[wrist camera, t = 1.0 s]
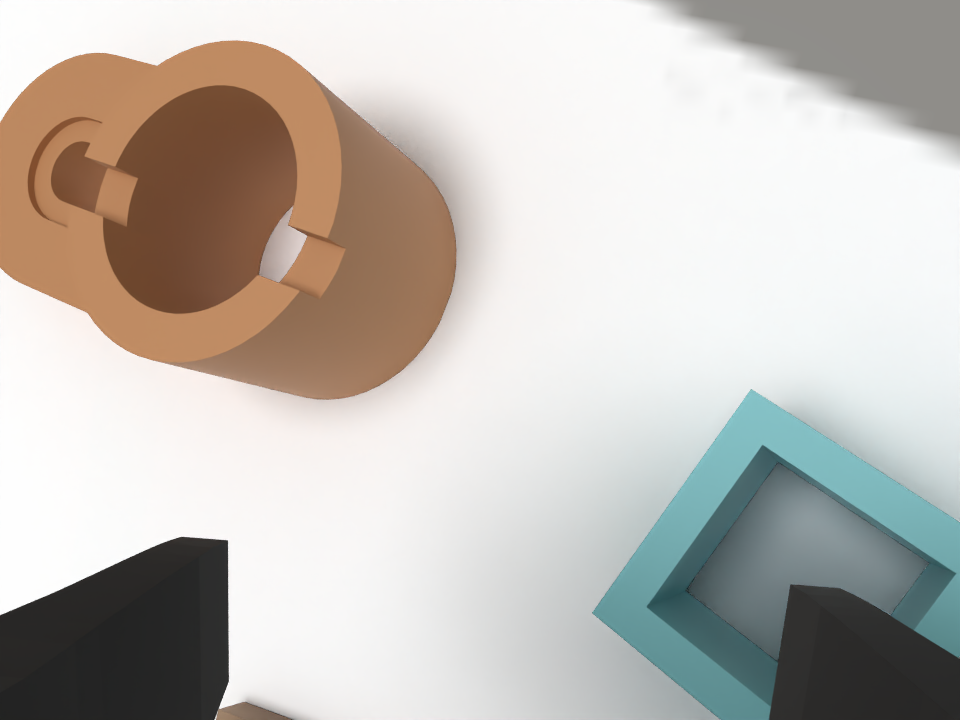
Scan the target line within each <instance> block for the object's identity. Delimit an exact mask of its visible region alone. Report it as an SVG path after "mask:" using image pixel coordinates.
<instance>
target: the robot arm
mask: <svg viewBox="0 0 960 720" xmlns="http://www.w3.org/2000/svg"><path fill="white" fill-rule="evenodd" d="M228 682H229V645H228V540H215V539H202V538H190V537H179V538H176V539H173V540H170V541H167V542H164V543H162V544H159V545H157V546H155V547H152V548H150V549H148V550H145V551H143V552H141V553H139V554H136V555H134V556H132V557H130V558H128V559H126V560H123V561H121V562H119V563H117V564H115V565H113V566H111V567H108V568H106V569H104V570H102V571H100V572H98V573H96V574H93V575H91V576H89V577H87V578H85V579H83V580H80V581H78V582H76V583H74V584H72V585H70V586H68V587H65V588H63V589H61V590H59V591H57V592H54V593H52V594H50V595H47V596H45V597H43V598H40V599H38V600H35V601H33V602H31V603H28V604H26V605H24V606H21V607H19V608H16V609H14V610H12V611H9V612H7V613H5V614H2V615H0V720H214V719H215V717H216V714H217V711H218V709H219V706H220V703H221V701H222V698H223V695H224V693H225V690H226V687H227V685H228ZM769 720H960V658H958V657H956V656H955V655H953V654H951V653H950V652H948V651H947V650H945V649H943V648H942V647H940V646H938V645H937V644H935V643H934V642H932V641H930V640H929V639H927V638H926V637H924V636H922V635H921V634H919V633H917V632H916V631H914V630H913V629H911V628H909V627H908V626H906V625H905V624H903V623H901V622H900V621H898V620H896V619H895V618H893V617H892V616H890V615H888V614H887V613H885V612H883V611H882V610H880V609H878V608H876V607H875V606H873V605H871V604H870V603H868V602H866V601H864V600H862V599H861V598H859V597H857V596H855V595H853V594H851V593H849V592H847V591H844V590H842V589H840V588H828V587H815V586H803V585H790V591H789V597H788V603H787V610H786V616H785V622H784V628H783V634H782V641H781V647H780V653H779V659H778V666H777V672H776V678H775V684H774V690H773V697H772V703H771V709H770V715H769Z"/></svg>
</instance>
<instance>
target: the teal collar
mask: <svg viewBox="0 0 960 720" xmlns="http://www.w3.org/2000/svg"><path fill="white" fill-rule="evenodd" d="M777 462H779V463H781V464H782V465H784V466H785V467H787V468H788V469H790V470H791V471H793V472H794V473H795V474H797V475H798V476H800V477H801V478H803V479H804V480H806V481H807V482H809V483H810V484H812V485H813V486H815V487H816V488H818V489H819V490H821V491H822V492H824V493H825V494H827V495H828V496H830V497H831V498H833V499H834V500H836V501H837V502H839V503H840V504H842V505H843V506H845V507H846V508H848V509H849V510H851V511H852V512H854V513H855V514H857V515H858V516H860V517H861V518H863V519H864V520H866V521H867V522H869V523H870V524H872V525H873V526H875V527H876V528H878V529H879V530H881V531H882V532H884V533H885V534H887V535H888V536H890V537H891V538H893V539H894V540H896V541H897V542H899V543H900V544H902V545H903V546H905V547H906V548H908V549H909V550H911V551H912V552H914V553H915V554H917V555H918V556H920V557H921V558H923V559H924V560H926V561H927V562H929V564H928V566H927V567H926V568H925V570H924V571H923V572H922V574H921V575H920V576H919V578H918V579H917V580H916V582H915V583H914V584H913V586H912V587H911V588H910V590H909V591H908V593H907V594H906V595H905V597H904V598H903V599H902V601H901V602H900V603H899V605H898V606H897V607H896V609H895V610H894V611H893V613H892V614H891V615H890V616H892V617H893V618H895V619H896V620H898V621H900V622H901V623H903V624H905V625H906V626H908V627H909V628H911V629H913V630H914V631H916V632H917V633H919V634H921V635H922V636H924V637H926V638H927V639H929V640H930V641H932V642H934V643H935V644H937V645H938V646H940V647H942V648H943V649H945V650H947V651H948V652H950V653H951V654H953V655H955V656H956V657H958V658H959V656H960V522H958V521H957V520H955V519H954V518H952V517H950V516H949V515H947V514H946V513H944V512H943V511H941V510H939V509H938V508H936V507H935V506H933V505H932V504H930V503H929V502H927V501H925V500H924V499H922V498H921V497H919V496H918V495H916V494H914V493H913V492H911V491H910V490H908V489H907V488H905V487H903V486H902V485H900V484H899V483H897V482H896V481H894V480H893V479H891V478H889V477H888V476H886V475H885V474H883V473H882V472H880V471H878V470H877V469H875V468H874V467H872V466H871V465H869V464H868V463H866V462H864V461H863V460H861V459H860V458H858V457H857V456H855V455H853V454H852V453H850V452H849V451H847V450H846V449H844V448H843V447H841V446H839V445H838V444H836V443H835V442H833V441H832V440H830V439H828V438H827V437H825V436H824V435H822V434H821V433H819V432H817V431H816V430H814V429H813V428H811V427H810V426H808V425H807V424H805V423H803V422H802V421H800V420H799V419H797V418H796V417H794V416H792V415H791V414H789V413H788V412H786V411H785V410H783V409H782V408H780V407H778V406H777V405H775V404H774V403H772V402H771V401H769V400H767V399H766V398H764V397H763V396H761V395H760V394H758V393H757V392H755V391H753V390H752V389H751V390H750V392H749V393H748V394H747V396H746V397H745V399H744V400H743V401H742V403H741V404H740V406H739V407H738V408H737V410H736V411H735V413H734V414H733V416H732V417H731V418H730V420H729V421H728V423H727V424H726V425H725V427H724V428H723V430H722V431H721V432H720V434H719V435H718V437H717V438H716V439H715V441H714V442H713V444H712V445H711V446H710V448H709V449H708V451H707V452H706V454H705V455H704V456H703V458H702V459H701V461H700V462H699V463H698V465H697V466H696V468H695V469H694V470H693V472H692V473H691V475H690V476H689V477H688V479H687V480H686V482H685V483H684V484H683V486H682V487H681V489H680V490H679V491H678V493H677V494H676V496H675V497H674V499H673V500H672V501H671V503H670V504H669V506H668V507H667V508H666V510H665V511H664V513H663V514H662V515H661V517H660V518H659V520H658V521H657V522H656V524H655V525H654V527H653V528H652V529H651V531H650V532H649V534H648V535H647V537H646V538H645V539H644V541H643V542H642V544H641V545H640V546H639V548H638V549H637V551H636V552H635V553H634V555H633V556H632V558H631V559H630V560H629V562H628V563H627V565H626V566H625V567H624V569H623V570H622V572H621V573H620V575H619V576H618V577H617V579H616V580H615V582H614V583H613V584H612V586H611V587H610V589H609V590H608V591H607V593H606V594H605V596H604V597H603V598H602V600H601V601H600V603H599V604H598V605H597V607H596V608H595V610H594V611H593V612H592V613H593V614H594V615H595V616H596V617H597V618H599V619H600V620H601V621H602V622H603V623H605V624H606V625H607V626H608V627H610V628H611V629H612V630H613V631H614V632H616V633H617V634H618V635H619V636H620V637H622V638H623V639H624V640H625V641H626V642H628V643H629V644H630V645H631V646H632V647H634V648H635V649H636V650H637V651H638V652H640V653H641V654H642V655H643V656H644V657H646V658H647V659H648V660H649V661H651V662H652V663H653V664H654V665H655V666H657V667H658V668H659V669H660V670H661V671H663V672H664V673H665V674H666V675H667V676H669V677H670V678H671V679H672V680H673V681H675V682H676V683H677V684H678V685H679V686H681V687H682V688H683V689H684V690H686V691H687V692H688V693H689V694H690V695H692V696H693V697H694V698H695V699H696V700H698V701H699V702H700V703H701V704H702V705H704V706H705V707H706V708H707V709H708V710H710V711H711V712H712V713H713V714H714V715H716V716H717V717H718V718H719V719H721V720H769V715H770V709H771V703H772V697H773V690H774V684H775V678H776V672H777V666H778V662H777V661H776V660H774V659H773V658H772V657H770V656H769V655H768V654H767V653H765V652H764V651H763V650H761V649H760V648H759V647H757V646H756V645H755V644H754V643H752V642H751V641H750V640H748V639H747V638H746V637H745V636H743V635H742V634H741V633H739V632H738V631H737V630H736V629H734V628H733V627H732V626H730V625H729V624H728V623H726V622H725V621H724V620H723V619H721V618H720V617H719V616H717V615H716V614H715V613H714V612H712V611H711V610H710V609H708V608H707V607H706V606H704V605H703V604H702V603H701V602H699V601H698V600H697V599H695V598H694V597H693V596H692V595H690V594H689V593H688V592H686V591H685V590H686V589H687V588H688V586H689V585H690V584H691V582H692V581H693V579H694V578H695V577H696V575H697V574H698V572H699V571H700V570H701V568H702V567H703V565H704V564H705V563H706V561H707V560H708V558H709V557H710V556H711V554H712V553H713V552H714V550H715V549H716V547H717V546H718V545H719V543H720V542H721V540H722V539H723V538H724V536H725V535H726V533H727V532H728V531H729V529H730V528H731V526H732V525H733V524H734V522H735V521H736V519H737V518H738V517H739V515H740V514H741V513H742V511H743V510H744V508H745V507H746V506H747V504H748V503H749V501H750V500H751V499H752V497H753V496H754V494H755V493H756V492H757V490H758V489H759V487H760V486H761V485H762V483H763V482H764V481H765V479H766V478H767V476H768V475H769V474H770V472H771V471H772V469H773V468H774V467H775V465H776V464H777Z"/></svg>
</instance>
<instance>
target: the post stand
mask: <svg viewBox="0 0 960 720" xmlns="http://www.w3.org/2000/svg"><path fill="white" fill-rule="evenodd" d="M216 720H292V719H289V718H287V717H284V716H281V715H278V714H276V713H273V712H270V711H267V710H265V709H262V708H259V707H257V706H254V705H251V704H248V703H246V702H242V703H239V704H235V705H232V706H229V707H225V708H222V709H218V714H217V718H216Z"/></svg>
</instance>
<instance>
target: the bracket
mask: <svg viewBox="0 0 960 720" xmlns="http://www.w3.org/2000/svg"><path fill="white" fill-rule="evenodd" d="M293 205H294V206H293ZM292 206H293V210H292V214H291V218H290V221H289V224H288V225H289V226H291V227H293V228H295V229H296V230H298V231H300V232H302V233H304V234H305V235H307V238H306V241H305V243H304V245H303V247H302V250H301V252H300V253H299V255H298V257H297V259H296V261H295V262H294V264H293V265H292V267H291V268H290V270H289V271H288V273H287V274H286V275H285V276H284V278H283V279H282V280H281V281H280V282H279V283H278V282H275V281H272V280H270V279H267V278H264V277H262V276H259V269H260V263H261V259H262V255H263V252H264V249H265V246H266V244H267V242H268V240H269V237H270V235H271V234H272V232H273V230H274V228H275V227H276V225H277V224H278V222H279V221H280V219H281V218H282V217H283V216H284V214H285V213H286V212H287V211H288V210H289V209H290V208H291V207H292ZM0 268H1V269H2V270H3V271H4V272H5V273H6V274H8V275H9V276H10V277H12V278H13V279H14V280H16V281H18V282H20V283H22V284H24V285H26V286H29V287H31V288H33V289H35V290H38V291H40V292H42V293H44V294H47V295H49V296H51V297H53V298H56V299H58V300H60V301H62V302H65V303H67V304H69V305H71V306H74V307H76V308H78V309H80V310H83V311H85V312H87V313H88V314H89V316H90V317H91V318H92V320H93V321H94V323H95V324H96V325H97V326H98V327H99V329H100V330H101V331H102V332H103V333H104V334H105V335H106V336H107V337H108V338H110V339H111V340H112V341H113V342H114V343H116V344H117V345H119V346H120V347H122V348H123V349H125V350H127V351H129V352H131V353H133V354H135V355H137V356H140V357H144V358H147V359H150V360H154V361H158V362H162V363H166V364H170V365H174V366H178V367H183V368H187V369H191V370H195V371H199V372H203V373H207V374H211V375H215V376H219V377H224V378H228V379H232V380H236V381H240V382H244V383H248V384H252V385H256V386H261V387H265V388H269V389H273V390H277V391H281V392H285V393H289V394H293V395H297V396H302V397H306V398H312V399H327V400H329V399H340V398H346V397H350V396H355V395H358V394H361V393H364V392H367V391H369V390H371V389H373V388H375V387H377V386H379V385H381V384H383V383H384V382H386V381H388V380H389V379H391V378H392V377H394V376H395V375H396V374H398V373H399V372H400V371H401V370H403V369H404V368H405V367H406V366H407V365H408V364H409V363H410V362H411V361H412V360H413V359H414V358H415V357H416V356H417V355H418V354H419V353H420V351H421V350H422V349H423V348H424V346H425V345H426V344H427V342H428V341H429V339H430V338H431V337H432V335H433V333H434V332H435V330H436V328H437V326H438V325H439V323H440V320H441V318H442V315H443V313H444V310H445V307H446V305H447V302H448V300H449V297H450V295H451V291H452V287H453V282H454V277H455V269H456V240H455V233H454V228H453V223H452V219H451V216H450V213H449V210H448V208H447V205H446V203H445V201H444V199H443V197H442V195H441V193H440V192H439V190H438V188H437V187H436V185H435V184H434V183H433V182H432V180H431V179H430V178H429V177H428V176H427V175H426V174H425V173H424V172H423V171H422V170H421V169H420V168H419V167H418V166H417V165H416V164H415V163H413V162H412V161H411V160H410V159H409V158H408V157H406V156H405V155H404V154H403V153H402V152H401V151H399V150H398V149H397V148H396V147H395V146H394V145H393V144H391V143H390V142H389V141H388V140H387V139H386V138H384V137H383V136H382V135H381V134H380V133H379V132H377V131H376V130H375V129H374V128H373V127H372V126H371V125H369V124H368V123H367V122H366V121H365V120H364V119H362V118H361V117H360V116H359V115H358V114H357V113H355V112H354V111H353V110H352V109H351V108H350V107H348V106H347V105H346V104H345V103H344V102H343V101H342V100H340V99H339V98H338V97H337V96H336V95H335V94H333V93H332V92H331V91H330V90H329V89H328V88H326V87H325V86H324V85H323V84H322V83H321V82H320V81H318V80H317V79H316V78H315V77H314V76H313V75H311V74H310V73H309V72H308V71H307V70H306V69H304V68H303V67H302V66H301V65H300V64H298V63H297V62H296V61H294V60H293V59H292V58H290V57H289V56H287V55H285V54H284V53H282V52H280V51H278V50H276V49H274V48H271V47H268V46H266V45H262V44H258V43H254V42H247V41H220V42H214V43H208V44H204V45H201V46H197V47H194V48H191V49H189V50H186V51H184V52H181V53H179V54H177V55H175V56H173V57H171V58H169V59H167V60H166V61H164V62H163V63H161V64H160V65H158V66H155V65H151V64H148V63H144V62H140V61H136V60H132V59H129V58H125V57H121V56H117V55H112V54H107V53H90V54H84V55H79V56H75V57H73V58H70V59H67V60H65V61H63V62H61V63H59V64H57V65H55V66H53V67H52V68H50V69H48V70H47V71H45V72H44V73H43V74H41V75H40V76H39V77H37V78H36V79H35V80H34V81H33V82H32V83H31V84H30V85H29V86H28V87H27V88H26V89H25V90H24V91H23V92H22V93H21V94H20V95H19V96H18V98H17V99H16V100H15V101H14V103H13V104H12V105H11V107H10V108H9V110H8V111H7V113H6V114H5V116H4V117H3V119H2V121H1V122H0Z"/></svg>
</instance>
